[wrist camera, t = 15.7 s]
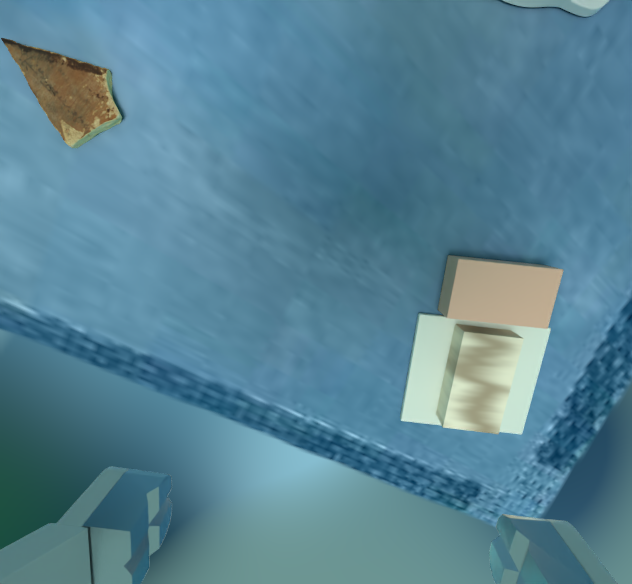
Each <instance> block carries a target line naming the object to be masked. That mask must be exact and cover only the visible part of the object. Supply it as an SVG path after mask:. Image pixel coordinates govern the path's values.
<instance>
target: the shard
mask: <svg viewBox="0 0 632 584" xmlns="http://www.w3.org/2000/svg"><path fill="white" fill-rule="evenodd" d="M1 39H2V41H3V42H4V44H5V45H6V47H7V48H8V50H9V52H10V53H11V55H12V57H13V59H14V60H15V61H16V63H17V64H18V65H19V67H20V69H21V71H22V72H23V74H24V76H25V78H26V80H27V81H28V84H29V86H30V88H31V90H32V91H33V93H34V94H35V96H36V98H37V99H38V102H39V104H40V105H41V107H42V109H43V110H44V111H45V113H46V114H47V116H48V118H49V120H50V121H51V123H52V124H53V126H54V127H55V129H56V130H58V131H59V133H60V134H61V136H62V138H63V140H64V141H65V143H66V144H68V145H69V146H70V147H71V148H78V147H80V146H81V145H82V144H84V143H86V142H87V141H89V140H90V139H92V138H93V137H95V136H96V135H97V134H98V133H101V132H103V131H105V130H108V129H110V128H111V127H113V126H114V125H117V124H119V123H120V122H121V119H122V116H121V114H120V112H119V110H118V108H117V106H116V104H115V102H114V100H113V96H112V74H111V72H110V70H109V69H106V68H101V67H99V66H94V65H92V64H89V63H86V62H81V61H78V60H76V59H73V58H69V57H65V56H63V55H60V54H57V53H54V52H50V51H47V50H43V49H40V48H35V47H30V46H25V45H21V44H19V43H16V42H15V41H13V40H8V39H4V38H1Z"/></svg>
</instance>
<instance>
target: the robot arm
mask: <svg viewBox="0 0 632 584" xmlns="http://www.w3.org/2000/svg"><path fill="white" fill-rule="evenodd" d="M503 1H505V2H507V3H510V4H513V5H517V6H522V7H560V8H562V9H564V10H566V11H569V12H571V13H573V14H576V15H579V16H583V17H588V16H592V15H594V14H595V13H597V12H598V11H599V10H600V9H601V8H602V7H603V6H604V5H605V4H606V3H607V2H608V1H609V0H503ZM171 489H172V477H171V476H170V475H169V474H162V473H156V472H148V471H142V470H135V469H125V468H119V467H112V466H110V467H109V468H107V469H105V470H104V471H103V472H102V473H101V474H100V475H99V476H98V477H97V478H96V479H95V481H94V482H93V483H92V484H91V485H90V486H89V487H88V488H87V490H86V491H85V492H84V493H83V494H82V495H81V496H80V498H79V499H78V500H77V501H76V502H75V503H74V504H73V506H72V507H71V508H70V509H69V510H68V511H67V512H66V513H65V515H64V516H63V517H62V518H61V519H60V520H59V521H58V522H57V523H56V524H53V523H49V524H47V525H45V526H43V527H42V528H40V529H38V530H36V531H34V532H32V533H30V534H29V535H27V536H25V537H23V538H21V539H19V540H18V541H16V542H14V543H12V544H10V545H8V546H7V547H5V548H3V549H1V550H0V584H141V583H142V581H143V579H144V577H145V575H146V573H147V571H148V569H149V556H150V555H151V554H152V553H154V552H155V551H156V550H157V549H159V548H160V546H161V544H162V542H163V539H164V538H165V535H166V533H167V530H168V526H169V523H170V518H171V513H172V502H171V501H170V499H169V498H168V497H167V496H168V494H169V492H170V490H171ZM496 528H497V530H498V532H499V534H500V535H499V536H498V537H497V538H496V539H494V540H493V541H492V542H491V547H490V551H489V559H490V568H491V572H492V576H493V579H494V581H495V584H618V583H617V582H616V581H615V579H614V578H613V577H612V576H611V574H610V573H609V572H608V570H607V569H606V568H605V567H604V565H603V564H602V563H601V562H600V560H599V559H598V557H597V556H596V555H595V554H594V552H593V551H592V550H591V548H590V547H589V546H588V545H587V543H586V542H585V541H584V540H583V538H582V537H581V536H580V534H579V533H578V532H577V531H576V529H575V528H574V527H573V526H572V525H571V524H570V523H568V522H567V521H559V520H550V519H540V518H531V517H522V516H513V515H504V514H502V515H501V516H500V517H499V518H498V521H497V525H496Z"/></svg>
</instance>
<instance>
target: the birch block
mask: <svg viewBox="0 0 632 584" xmlns="http://www.w3.org/2000/svg"><path fill="white" fill-rule="evenodd" d="M523 340H524V338H522V337H521V336H519V335H518V334H516V333H514V332H513V331H511V330H504V329H496V328H487V327H479V326H470V325H462V324H455V327H454V332H453V336H452V341H451V346H450V350H449V355H448V359H447V364H446V369H445V373H444V378H443V383H442V387H441V392H440V397H439V401H438V406H437V411H436V415H437V417H438V419H439V421H440V423H441V425H442V427H445V428H453V429H461V430H469V431H477V432H486V433H494V434H499V430H500V426H501V422H502V419H503V415H504V411H505V407H506V404H507V400H508V396H509V393H510V389H511V385H512V381H513V378H514V374H515V370H516V366H517V363H518V359H519V355H520V351H521V348H522V344H523Z"/></svg>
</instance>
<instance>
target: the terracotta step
mask: <svg viewBox="0 0 632 584" xmlns="http://www.w3.org/2000/svg"><path fill="white" fill-rule="evenodd" d="M562 273H563V269H559V268H555V267H551V266H546V265H540V264H530V263H520V262H511V261H501V260H491V259H482V258H472V257H462V256H452V255H448V258H447V263H446V269H445V274H444V279H443V285H442V290H441V295H440V300H439V306H438V311H440V312H441V313H442V314H443V315H444V316H445V317H446V318H450V319H459V320H469V321H478V322H488V323H497V324H506V325H516V326H525V327H534V328H544V329H548V325H549V321H550V318H551V314H552V310H553V307H554V303H555V299H556V296H557V292H558V288H559V284H560V281H561V277H562Z"/></svg>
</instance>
